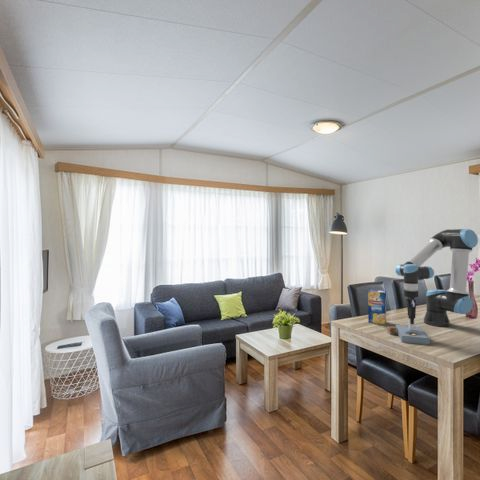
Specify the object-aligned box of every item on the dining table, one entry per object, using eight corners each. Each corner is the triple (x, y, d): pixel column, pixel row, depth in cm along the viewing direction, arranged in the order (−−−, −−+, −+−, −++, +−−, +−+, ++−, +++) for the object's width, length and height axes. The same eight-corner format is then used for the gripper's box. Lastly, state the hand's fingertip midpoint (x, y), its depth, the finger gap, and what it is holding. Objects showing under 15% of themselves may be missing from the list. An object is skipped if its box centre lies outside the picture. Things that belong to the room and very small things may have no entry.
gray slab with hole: (395, 330, 193) (395, 324, 193) (420, 332, 189) (420, 326, 189) (401, 341, 173) (401, 335, 173) (429, 344, 168) (429, 338, 168)
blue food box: (385, 324, 207) (385, 292, 206) (368, 322, 212) (368, 291, 212) (386, 321, 213) (386, 290, 212) (369, 319, 218) (369, 289, 218)
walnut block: (393, 332, 190) (393, 326, 190) (396, 334, 186) (396, 328, 186) (387, 332, 190) (387, 326, 190) (390, 334, 186) (389, 328, 186)
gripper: (401, 287, 190) (402, 325, 190) (406, 291, 177) (407, 331, 178) (415, 288, 187) (415, 326, 188) (420, 292, 175) (421, 332, 175)
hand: (411, 328), depth 183 cm, fingers closed
